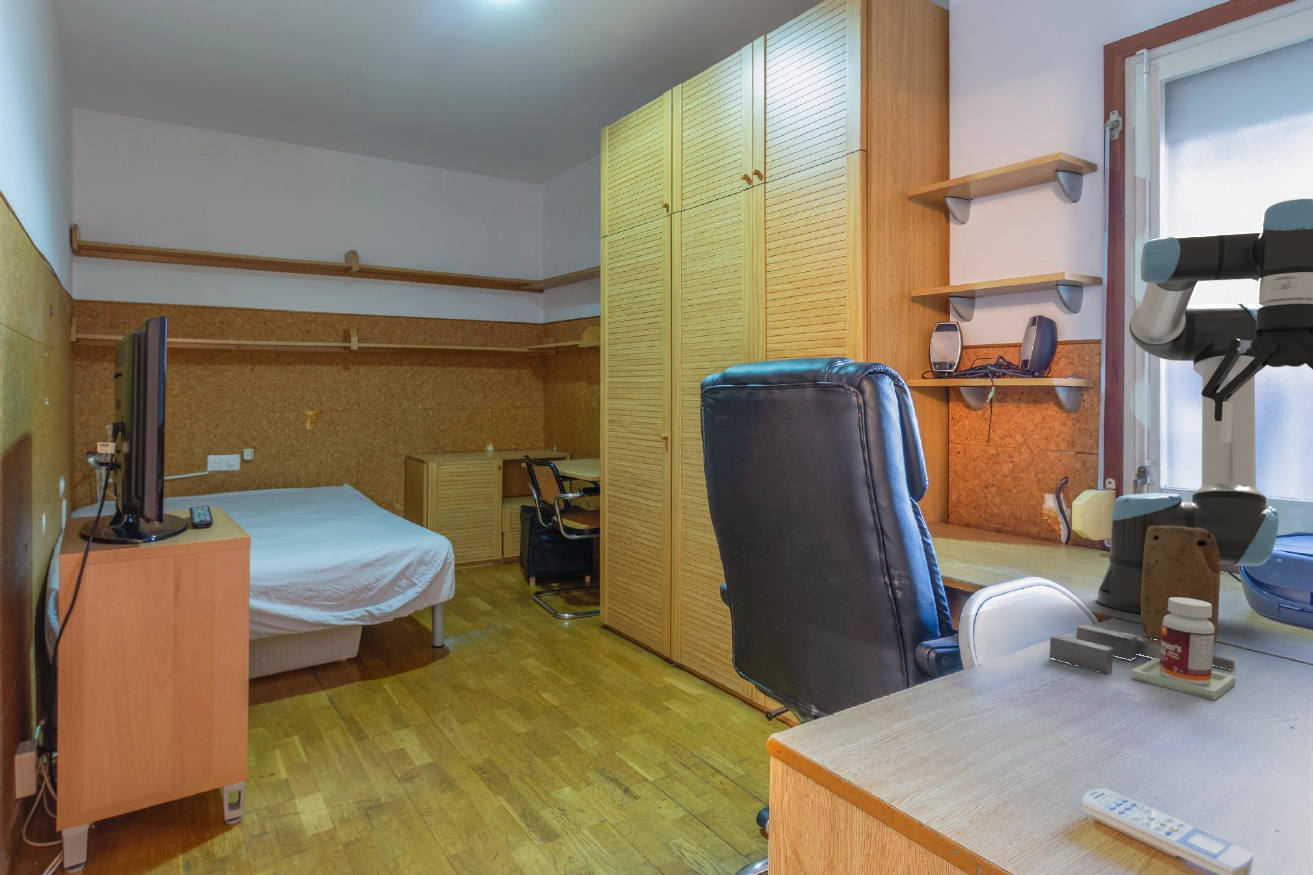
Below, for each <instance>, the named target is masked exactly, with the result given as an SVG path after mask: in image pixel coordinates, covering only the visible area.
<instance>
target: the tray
mask: <svg viewBox="0 0 1313 875" xmlns="http://www.w3.org/2000/svg"><path fill="white" fill-rule="evenodd" d="M1159 669H1160V659H1159V658H1154V659H1149V661H1146V662H1145V663H1144V664H1141V665H1139V666H1137V667H1135V668H1134V669H1131V679H1132V678H1133V680H1135V679H1136V681H1139V680H1140V682H1142V683H1147V682H1148V683H1147V684H1152V685H1154V686H1155V685H1156V686H1159V687H1162V688H1167V689H1170V690H1175V691H1178V692H1180V693H1181V692H1182V693H1185V694H1188V695H1193V696H1197V697H1200V698H1204V699H1206V700H1207V699H1208V700H1212V701H1215V700H1217V699H1218V698H1220V697H1221V696H1222V695H1223V694H1225V693H1227V692H1228V691H1229V690H1230V689H1232V688H1233V687H1234V686H1235V685H1236V676H1233V675H1229V674H1226V673H1222V672H1217V671H1213V670H1212V673H1211V681H1210V683H1208V684H1206V685H1194V684H1190V683H1186V682H1182V681H1178V680H1174V679H1170V678H1166V677H1164V676H1163V675H1162V674H1161V673H1160V670H1159ZM1232 686H1233V687H1232Z"/></svg>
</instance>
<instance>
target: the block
mask: <svg viewBox="0 0 1313 875" xmlns="http://www.w3.org/2000/svg"><path fill="white" fill-rule="evenodd" d="M1220 586H1221V563H1220V556H1219V551H1218V546H1217V542H1216V540H1215V538H1214V536H1213V535H1212V534H1211V533H1209V532H1208V531H1207V530H1205V529H1203V528H1190V527H1185V526H1170V525H1161V526H1150V527H1148V529H1147V532H1146V538H1145V546H1144V555H1143V570H1142V583H1141V613H1140V619H1141V626H1142V632H1143V633H1145V634H1146V635H1147V636H1148V637H1150V638H1152V639H1157V640H1159V641H1161V637H1162V623H1163V618H1164V617H1165V616H1166V615H1169V614H1171V612H1170V611H1168V600H1169V598H1172V597H1181V598H1190V599H1196V600H1201V601H1205V602H1208V603H1210V604H1211V605H1212V617H1210V618H1207V620H1208V621H1210V622H1211V623H1212V624H1213V626H1214V632H1215V633H1214V645H1213V648H1214V647H1215V644H1216V641H1217V637H1218V632H1219V615H1220V614H1219V613H1220V612H1219V611H1220V610H1219V607H1220V606H1219V605H1220V588H1221V587H1220ZM1145 634H1144V635H1145ZM1146 635H1145V636H1146ZM1147 636H1146V637H1147ZM1148 637H1147V638H1148Z"/></svg>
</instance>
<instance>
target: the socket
mask: <svg viewBox="0 0 1313 875" xmlns="http://www.w3.org/2000/svg"><path fill="white" fill-rule="evenodd" d="M1123 633H1124V632H1123ZM1123 633H1122V632H1118V631H1113V630H1110V629H1109V630H1108V629H1104V628H1099V627H1097V626H1096V627H1095V626H1092V625H1087V624H1081V625H1079V626H1077V627H1076V635H1075V636H1076V637H1075V638H1074V637H1070V636H1066V635H1061V634H1058V633H1057V634H1055V635H1053V636H1051V637H1050V639H1049V640H1050V642H1049V658H1054V659H1056V660H1060V661H1063V662H1068V663H1070V664H1072V665H1071V666H1073V665H1078V666H1080V667H1079V668H1081V667H1084V668H1087V669H1086V670H1088V669H1092V670H1094V671H1093V672H1096V671H1099V672H1101V673H1100V674H1103V673H1107V674H1109V673H1110V672H1109V671H1111V672H1113V661H1114V660H1113V659H1114V657H1113V655H1114V656H1118V657H1122V658H1126V659H1130V660H1131V659H1132V658H1135V657H1136V658H1137V656H1136V653H1137V637H1136V636H1137V635H1136V636H1132V635H1133V634H1132V635H1127V634H1128V633H1127V634H1123ZM1084 668H1083V669H1084ZM1092 670H1091V671H1092ZM1099 672H1098V673H1099ZM1108 672H1109V673H1108Z"/></svg>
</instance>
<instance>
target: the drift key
mask: <svg viewBox="0 0 1313 875" xmlns="http://www.w3.org/2000/svg"><path fill="white" fill-rule="evenodd" d="M1121 633H1123V634H1127V635H1132V636H1136V637H1137V653H1136V654H1141V655H1144V656H1149V657H1152V658H1159V659H1160V651H1161V641H1159V640H1154V639H1150V638H1148V637H1145V636H1140V635H1135V634H1130V633H1128V632H1121Z"/></svg>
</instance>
